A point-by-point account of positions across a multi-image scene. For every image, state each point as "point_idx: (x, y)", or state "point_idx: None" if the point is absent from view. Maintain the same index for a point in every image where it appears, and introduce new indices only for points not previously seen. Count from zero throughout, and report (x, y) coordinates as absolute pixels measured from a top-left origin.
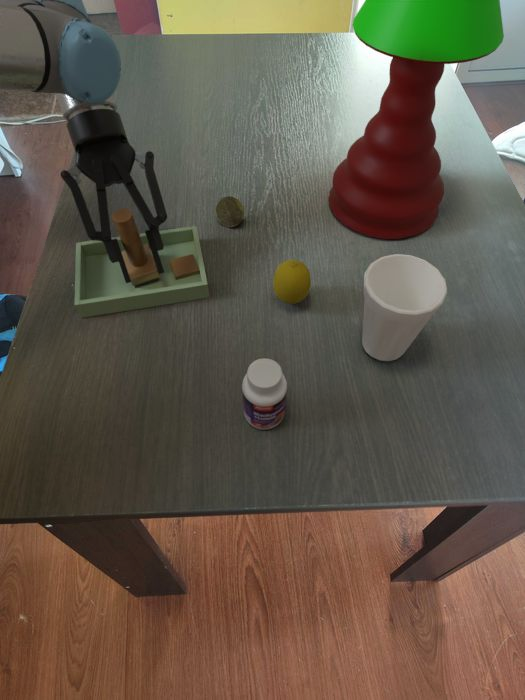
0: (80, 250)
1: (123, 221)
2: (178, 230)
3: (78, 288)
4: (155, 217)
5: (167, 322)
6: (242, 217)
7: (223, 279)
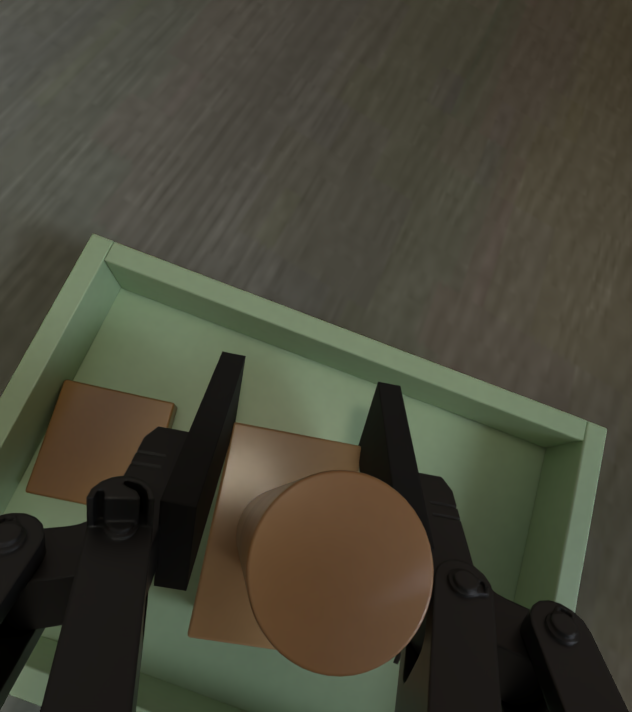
0: None
1: (361, 474)
2: None
3: (577, 511)
4: (63, 576)
5: (301, 257)
6: None
7: (10, 319)
